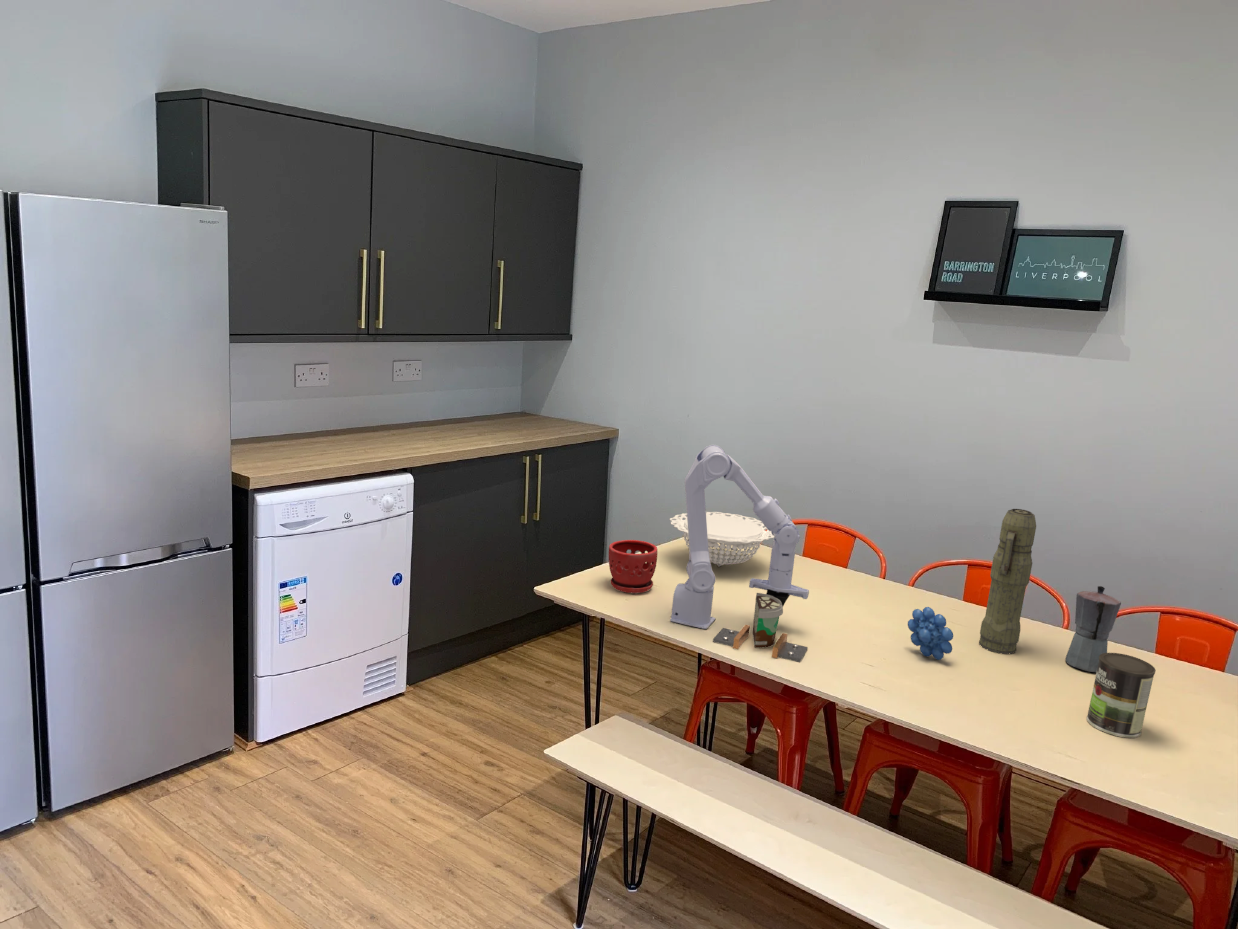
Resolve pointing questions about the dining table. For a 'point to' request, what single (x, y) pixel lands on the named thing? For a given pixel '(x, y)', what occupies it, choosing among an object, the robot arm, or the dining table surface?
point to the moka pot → (1092, 628)
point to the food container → (766, 620)
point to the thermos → (1008, 582)
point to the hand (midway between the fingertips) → (774, 619)
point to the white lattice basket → (728, 535)
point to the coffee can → (1120, 694)
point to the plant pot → (632, 565)
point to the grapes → (930, 633)
